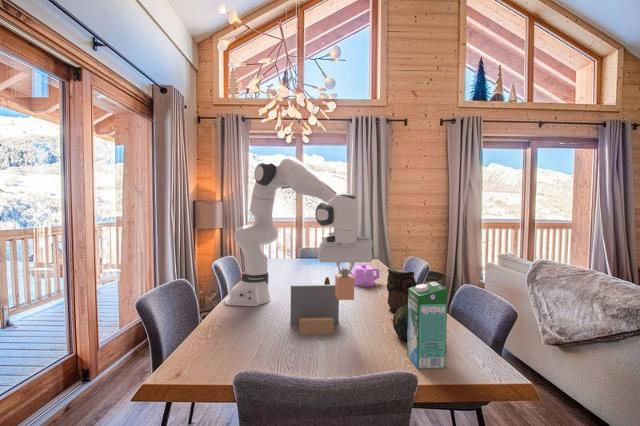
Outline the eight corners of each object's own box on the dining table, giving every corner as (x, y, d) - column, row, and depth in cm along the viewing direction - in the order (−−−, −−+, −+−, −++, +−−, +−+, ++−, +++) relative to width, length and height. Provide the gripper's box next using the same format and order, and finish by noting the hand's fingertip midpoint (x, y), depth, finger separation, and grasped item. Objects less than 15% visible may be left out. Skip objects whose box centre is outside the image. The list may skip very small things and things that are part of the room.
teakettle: (366, 289, 186) (366, 268, 185) (343, 283, 198) (344, 263, 197) (382, 284, 198) (383, 264, 197) (360, 279, 210) (361, 260, 209)
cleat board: (290, 334, 121) (291, 293, 121) (290, 319, 137) (290, 282, 136) (342, 333, 123) (343, 292, 123) (336, 318, 139) (337, 282, 138)
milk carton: (406, 354, 107) (408, 280, 106) (432, 354, 107) (434, 280, 106) (417, 369, 98) (419, 288, 97) (445, 368, 98) (447, 288, 97)
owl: (419, 317, 141) (420, 272, 141) (391, 317, 141) (392, 272, 140) (410, 307, 154) (411, 266, 153) (384, 307, 154) (385, 266, 153)
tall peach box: (337, 300, 116) (338, 270, 115) (334, 294, 123) (335, 265, 122) (354, 299, 116) (354, 269, 116) (350, 294, 123) (350, 265, 123)
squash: (389, 314, 130) (395, 294, 119) (426, 316, 129) (436, 296, 119) (392, 348, 120) (400, 330, 109) (433, 351, 119) (444, 333, 109)
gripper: (370, 236, 123) (369, 271, 123) (317, 235, 121) (317, 272, 121) (375, 238, 117) (374, 275, 117) (319, 237, 114) (318, 276, 115)
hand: (344, 273), depth 119 cm, fingers closed on tall peach box
